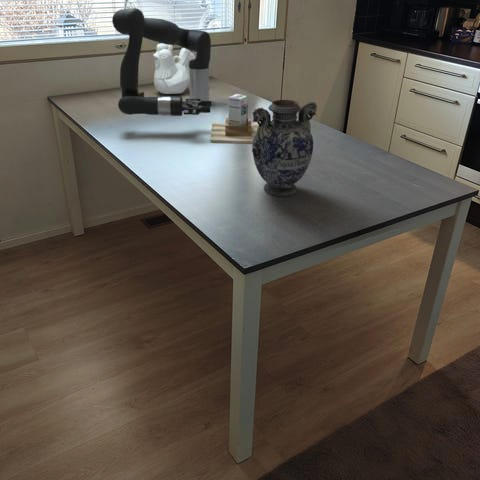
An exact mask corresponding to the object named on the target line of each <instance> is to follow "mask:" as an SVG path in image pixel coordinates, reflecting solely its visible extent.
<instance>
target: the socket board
mask: <svg viewBox="0 0 480 480" xmlns="http://www.w3.org/2000/svg"><path fill="white" fill-rule="evenodd" d="M258 126H259V125H258V123H257V122H252V118H250V117H249V118H248V120H247V125H229V117H225V122H212V123H211V128H210V129H211V131H210V137H209V139H210V140H209V141H210V142H209V143H210V144H211V143H212V144H213V143H215V144H219V143H220V144H253V139H254V135H255V133H256V131H257V128H258Z"/></svg>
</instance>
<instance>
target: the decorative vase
mask: <svg viewBox="0 0 480 480" xmlns="http://www.w3.org/2000/svg"><path fill="white" fill-rule="evenodd" d="M317 107H318V105H317V104H316V102H313V101H307V102H306V103H305V104H304V105H303V106H300V105H299V102H297V101H295V100H291V99H278V100H277V99H276V100H273V101H272V103H271V104H270V105H269V106H268V109H265V108H264V107H258V108H255V109H254V110H253V112H252V117H253V118H252V123H257V124H258V125H259V126H258V128H257V131H256V133H255V135H254V139H253V143H252V145H251V152H252V156H253V162H254V166H255V168H256V170H257V173H258V174H259V175H260V177H261V178H262V179H263V181H264V182H266V183H265V184H264V185H263V191H264V192H265V193H267V194H268V195H272V196H276V197H287V196H292V195H294V194H295V193H296V192H297V186H296V183H298V182H299V181H300V180H301V179H302V177H303V176H304V175H305V173H306V171H307V170H308V168H309V167H310V166H309V165H310V163H311V160H312V157H313V153H314V139H313V137H314V136H313V135H312V133H311V128H312V127H311V122H310V120H312V118H313V117H314V116H316V115H317ZM268 110H269V111H271V112H272V117H271V113H270V112H269V111H268ZM297 115H298V116H297Z"/></svg>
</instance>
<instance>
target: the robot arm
mask: <svg viewBox="0 0 480 480" xmlns="http://www.w3.org/2000/svg"><path fill="white" fill-rule="evenodd" d="M111 21H112V22H111V23H112V25H113V27H114V29H115V31H116V32H118V33H120V34H121V35H125V36H126V35H127V36H128V45H127V48H126V50H125V53H124V56H123V59H122V60H121V63H120V70H119V73H120V74H119V85H120V88H121V98H119V100H118V105H117V107H118V109H119V110H120V112H121V113H123V114H124V115H129V116H130V115H141V114H142V115H149V116H167V117H182V116H183V115H186V116H187V115H189V116H190V115H191V116H192V115H193V116H198V115H200V114H210V113H211V110H212V109H211V107H212V101H211V100H210V69H209V68H210V62H211V50H212V48H211V47H212V42H211V41H212V39H211V36H210V33H209V32H208V31H205V30H198V29H189V28H188V29H187V28H181V27H180V26H179V25H178V24H176V23H174V22H172V21H170V20H166V19H163V18H156V17H155V18H153V17H145V16H144V13H143V12H142V10H141V9H139V8H137V7H130V8H122V9H118V10H117V11H115V13H114V14H113V16H112V18H111ZM143 39H147V40H150V41H152V42H157V43H158V44H161V43H163V44H167V45H172V46H178V47H181V48H185V49H188V50H190V52H193V53H194V52H196V56H195V59H193V60H190V61H189V84H188V87H189V98H186V99H185V101H183V97H182V96H178V95H177V96H171V95H170V96H169V95H166V96H165V95H163V96H144V97H139V96H138V91H139V89H138V88H139V65H140V56H141V50H142V45H143Z"/></svg>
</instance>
